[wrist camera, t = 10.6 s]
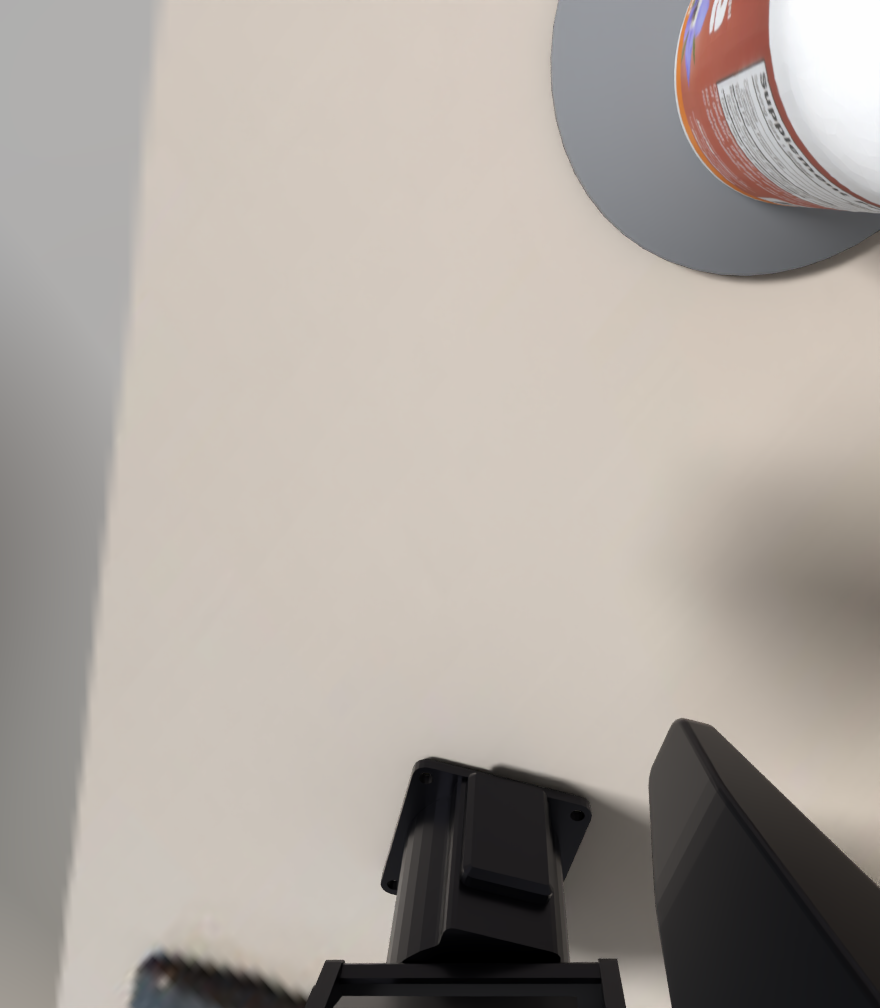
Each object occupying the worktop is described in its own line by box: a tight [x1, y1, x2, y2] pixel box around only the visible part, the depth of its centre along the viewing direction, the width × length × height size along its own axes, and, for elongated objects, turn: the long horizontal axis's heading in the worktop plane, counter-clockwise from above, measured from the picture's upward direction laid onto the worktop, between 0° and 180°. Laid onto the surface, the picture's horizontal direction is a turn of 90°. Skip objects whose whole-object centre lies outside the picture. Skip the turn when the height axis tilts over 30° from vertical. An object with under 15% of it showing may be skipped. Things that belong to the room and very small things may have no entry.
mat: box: [551, 0, 880, 276], centre depth 17 cm, size 10×10×1 cm
